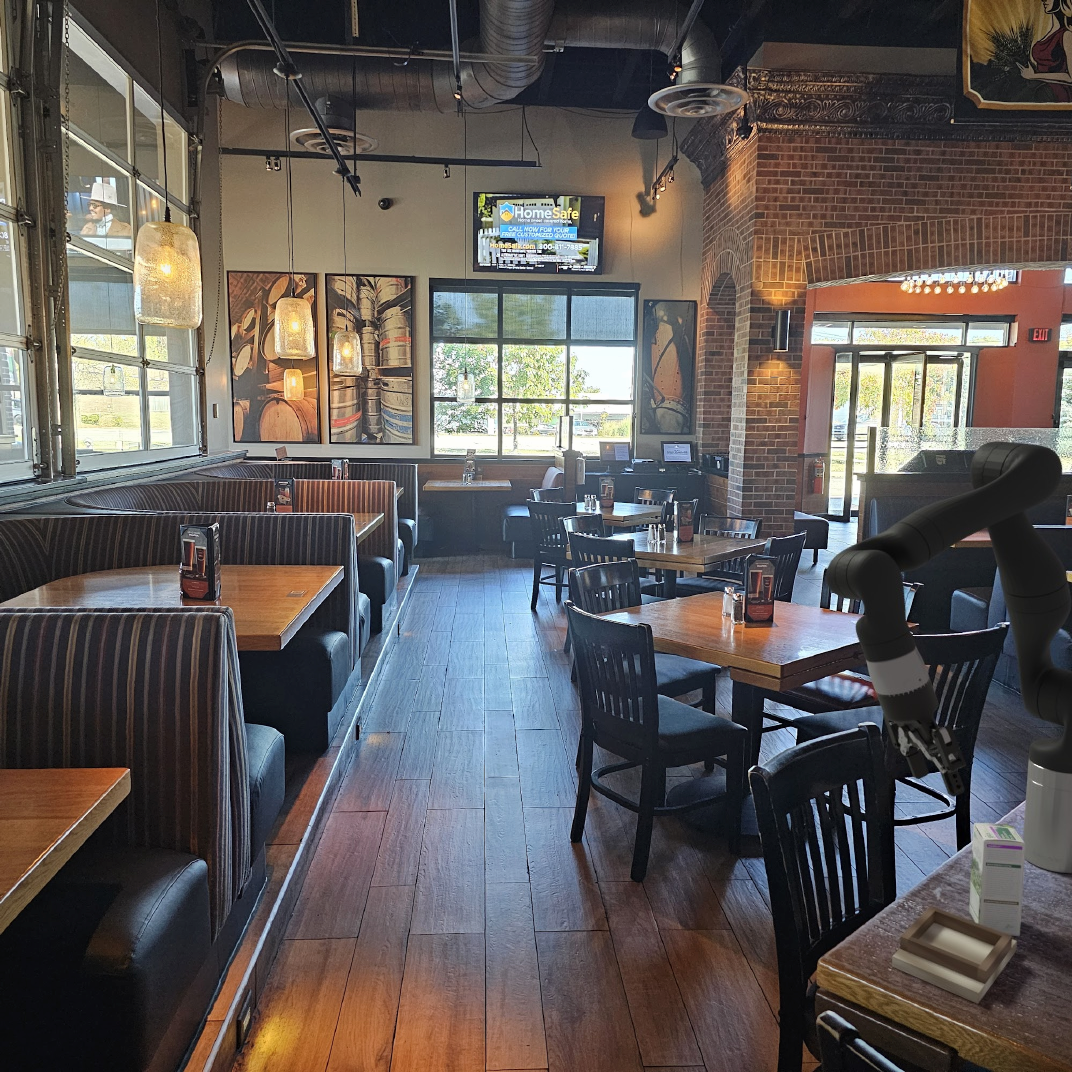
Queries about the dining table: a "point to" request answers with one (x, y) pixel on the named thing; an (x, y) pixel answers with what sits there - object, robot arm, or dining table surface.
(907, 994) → the dining table surface
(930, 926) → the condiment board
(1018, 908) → the syrup box
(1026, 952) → the dining table surface
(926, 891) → the dining table surface
